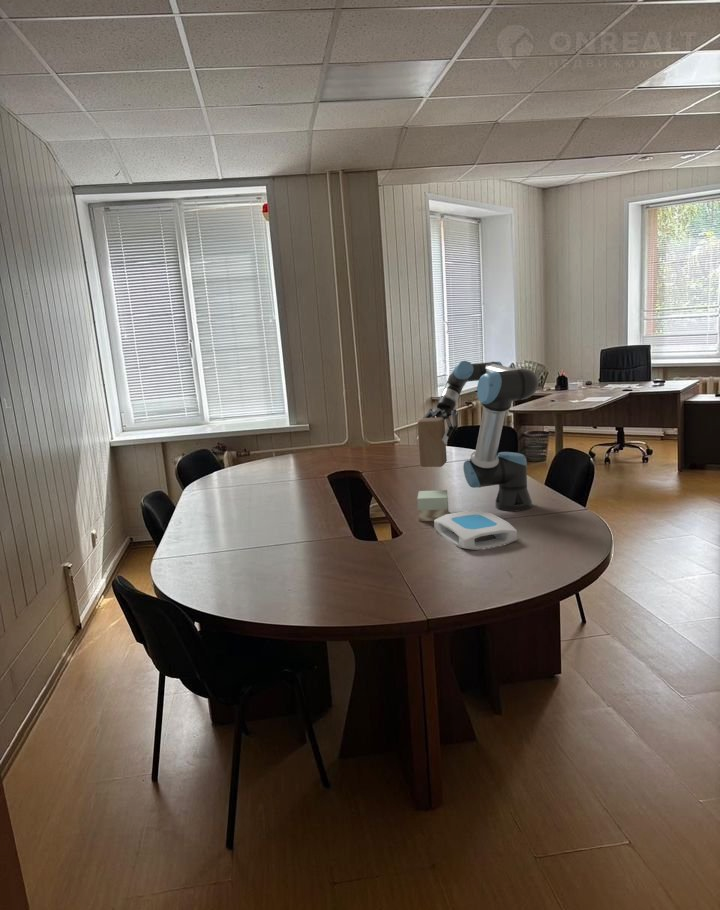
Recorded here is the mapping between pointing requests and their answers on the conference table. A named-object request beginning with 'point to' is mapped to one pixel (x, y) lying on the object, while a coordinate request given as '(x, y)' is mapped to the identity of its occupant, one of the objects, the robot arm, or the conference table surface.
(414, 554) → the conference table surface
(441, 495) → the tower upper slab
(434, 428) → the block
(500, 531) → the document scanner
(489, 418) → the robot arm
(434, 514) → the tower lower slab
